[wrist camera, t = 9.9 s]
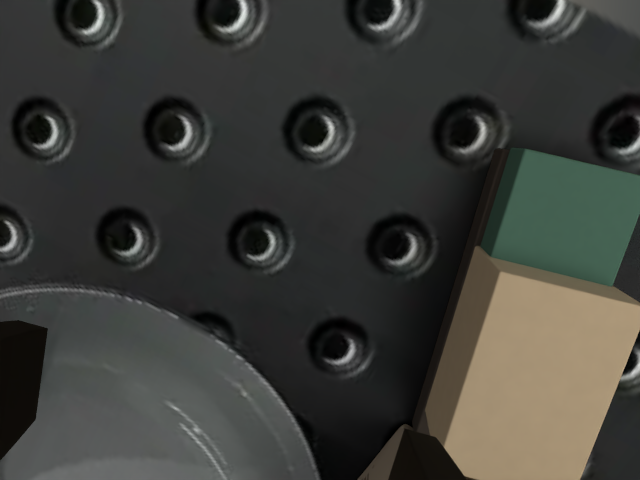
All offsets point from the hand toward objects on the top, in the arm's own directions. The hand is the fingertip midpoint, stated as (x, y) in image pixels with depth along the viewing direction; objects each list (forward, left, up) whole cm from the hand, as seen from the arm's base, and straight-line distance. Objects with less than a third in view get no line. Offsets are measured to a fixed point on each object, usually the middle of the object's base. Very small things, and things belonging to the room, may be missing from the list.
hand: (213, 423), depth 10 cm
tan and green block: (+1, -8, -10) cm, 13 cm away
